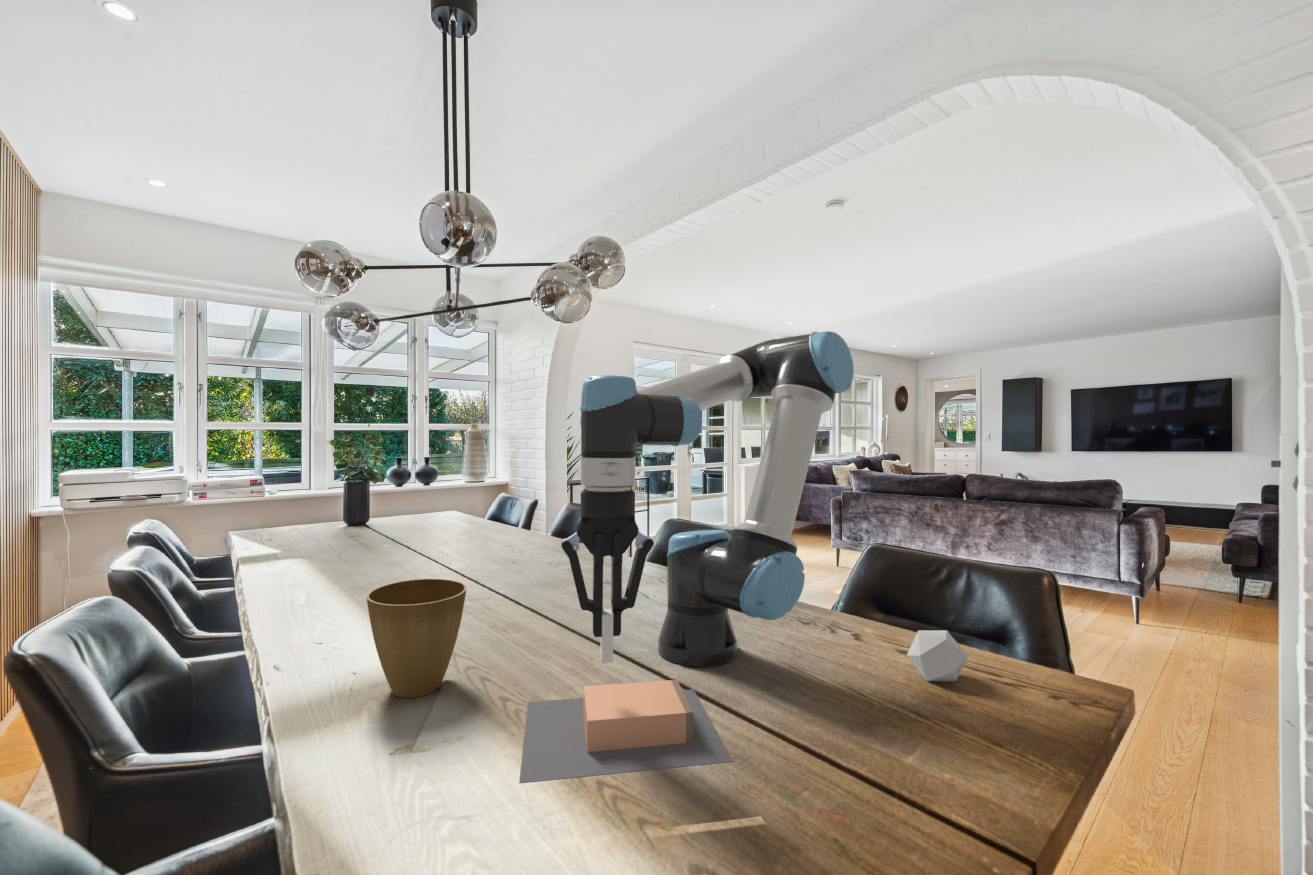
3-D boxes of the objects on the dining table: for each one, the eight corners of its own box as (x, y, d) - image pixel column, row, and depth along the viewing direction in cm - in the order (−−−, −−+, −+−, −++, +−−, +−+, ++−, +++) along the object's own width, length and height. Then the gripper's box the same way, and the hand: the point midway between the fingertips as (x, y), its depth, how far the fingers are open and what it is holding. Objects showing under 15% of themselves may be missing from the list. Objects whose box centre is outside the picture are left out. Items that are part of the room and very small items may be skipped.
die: (963, 697, 89) (983, 643, 92) (913, 667, 91) (935, 615, 94) (938, 693, 97) (957, 644, 100) (892, 666, 98) (913, 617, 101)
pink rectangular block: (583, 686, 80) (677, 679, 83) (583, 713, 80) (676, 706, 83) (587, 720, 71) (693, 712, 73) (587, 751, 71) (693, 742, 73)
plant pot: (343, 700, 85) (344, 597, 85) (415, 663, 99) (416, 575, 99) (419, 717, 80) (420, 608, 80) (484, 676, 94) (485, 583, 94)
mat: (528, 705, 84) (528, 701, 84) (693, 693, 89) (693, 689, 89) (519, 787, 64) (519, 782, 64) (732, 765, 69) (732, 761, 69)
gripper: (560, 491, 71) (558, 673, 71) (659, 490, 74) (657, 666, 74) (560, 486, 79) (558, 651, 79) (649, 485, 81) (648, 646, 81)
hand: (606, 658), depth 76 cm, fingers closed
